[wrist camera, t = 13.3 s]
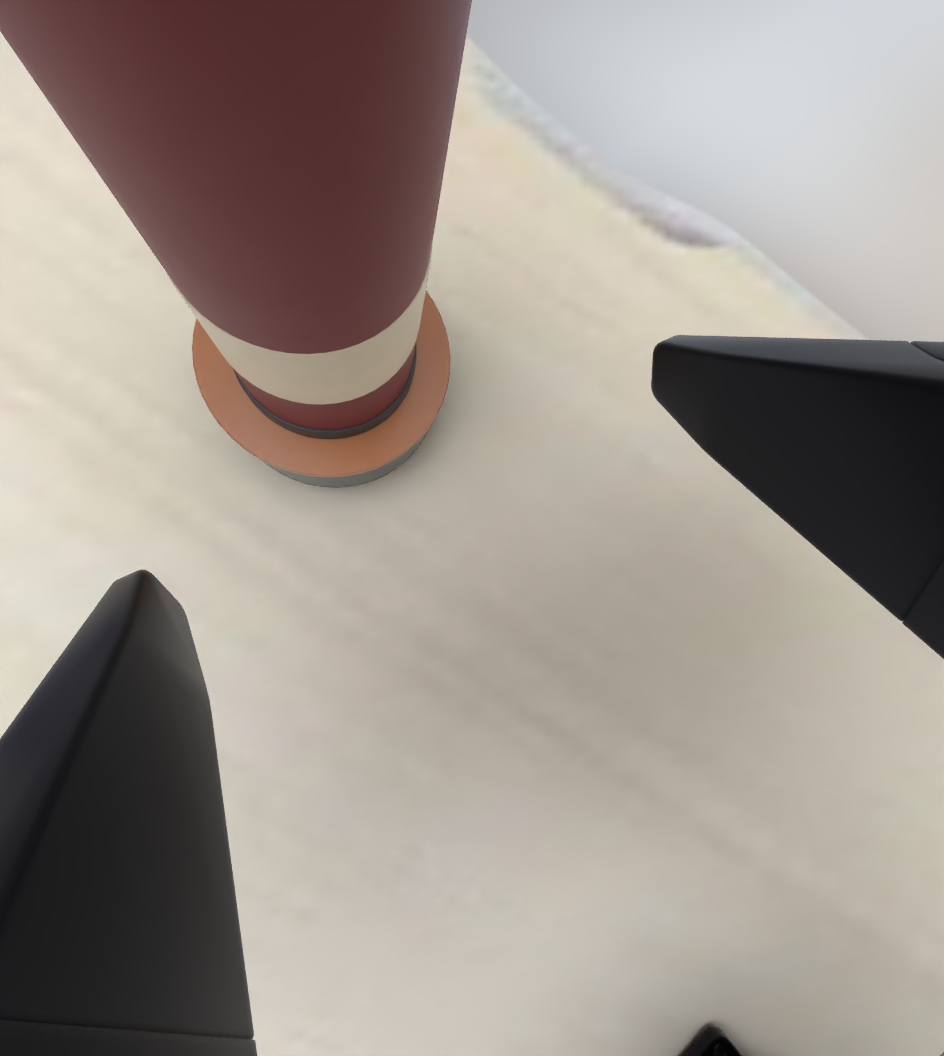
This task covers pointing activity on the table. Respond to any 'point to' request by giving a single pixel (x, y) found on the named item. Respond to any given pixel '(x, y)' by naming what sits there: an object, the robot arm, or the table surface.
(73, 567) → the table surface
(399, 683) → the table surface
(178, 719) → the robot arm
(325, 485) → the orange black short cylinder
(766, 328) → the table surface
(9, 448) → the table surface
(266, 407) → the tube
